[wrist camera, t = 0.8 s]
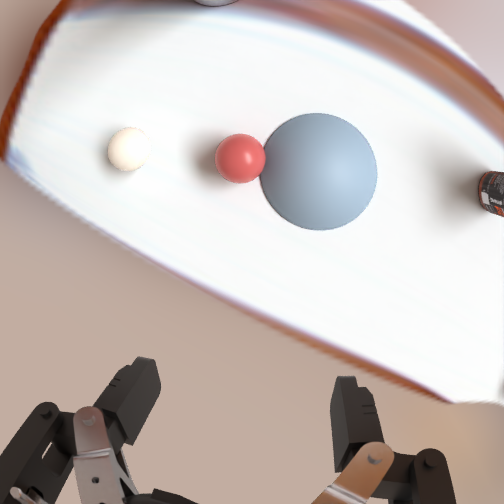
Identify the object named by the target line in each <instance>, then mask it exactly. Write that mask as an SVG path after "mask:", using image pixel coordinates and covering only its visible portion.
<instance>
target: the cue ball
mask: <svg viewBox="0 0 504 504" xmlns="http://www.w3.org/2000/svg"><path fill="white" fill-rule="evenodd" d="M150 151H151V144H150V140H149V138H148V136H147V135H146V134H145V133H144V132H143V131H142V130H140V129H137V128H131V127H130V128H124V129H122V130H120V131H118V132H117V133H116V134H115V135H114V136H113V137H112V138H111V140H110V142H109V145H108V156H109V159H110V161H111V163H112V164H113V165H114V166H115V167H116V168H118V169H120V170H123V171H133V170H136V169H138V168H140V167H141V166H142V165H143V164H144V163H145V162H146V161H147V159H148V158H149V155H150Z"/></svg>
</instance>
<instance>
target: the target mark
mask: <svg viewBox="0 0 504 504" xmlns="http://www.w3.org/2000/svg"><path fill="white" fill-rule="evenodd" d="M264 151H265V156H266V160H265V166H264V168H263V170H262V172H261V173H260V176H261V182H262V186H263V189H264V192H265V194H266V196H267V199H268V200H269V202H270V203H271V205H272V206H273V207H274V209H275V210H276V211H277V212H278V213H279V214H280V215H281V216H282V217H284V218H285V219H286V220H288V221H289V222H291V223H293V224H295V225H297V226H300V227H302V228H306V229H311V230H330V229H335V228H338V227H341V226H343V225H346V224H348V223H349V222H351V221H353V220H354V219H355V218H357V217H358V216H359V215H360V214H361V213H362V212H363V211H364V210H365V208H366V207H367V206H368V204H369V202H370V201H371V199H372V197H373V194H374V191H375V188H376V183H377V165H376V159H375V156H374V153H373V151H372V148H371V146H370V144H369V143H368V141H367V140H366V138H365V137H364V136H363V134H362V133H361V132H360V131H359V130H358V129H357V128H355V127H354V126H353V125H352V124H350V123H349V122H347V121H345V120H343V119H341V118H339V117H336V116H332V115H329V114H321V113H313V114H305V115H302V116H298V117H296V118H293V119H291V120H289V121H288V122H286V123H284V124H283V125H282V126H280V127H279V128H278V129H277V130H276V131H275V132H274V133H273V135H272V136H271V137H270V139H269V140H268V142H267V144H266V146H265V148H264Z"/></svg>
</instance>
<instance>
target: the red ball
mask: <svg viewBox="0 0 504 504" xmlns="http://www.w3.org/2000/svg"><path fill="white" fill-rule="evenodd" d="M265 160H266V156H265V151H264V149H263V147H262V145H261V144H260V142H259V141H258V140H256V139H255V138H254V137H252V136H249V135H246V134H235V135H231V136H229V137H227V138H226V139H224V140H223V141H222V142H221V143H220V144H219V146H218V148H217V150H216V153H215V165H216V168H217V170H218V172H219V173H220V174H221V175H222V176H223V177H224V178H225V179H226V180H228V181H230V182H233V183H247V182H250V181H252V180H254V179H255V178H256V177H258V176H259V175H260V173H261V172H262V170H263V168H264V166H265Z"/></svg>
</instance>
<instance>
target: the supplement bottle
mask: <svg viewBox="0 0 504 504" xmlns="http://www.w3.org/2000/svg"><path fill="white" fill-rule="evenodd" d="M479 198H480V202H481V204H482V206H483V207H484V208H485V209H486V210H487V211H489V212H491V213H493V214H496V215H499V216H502V217H504V172H497V171H490V172H487V173H486V174H485V175H484V176H483V177H482V179H481V181H480V185H479Z"/></svg>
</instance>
